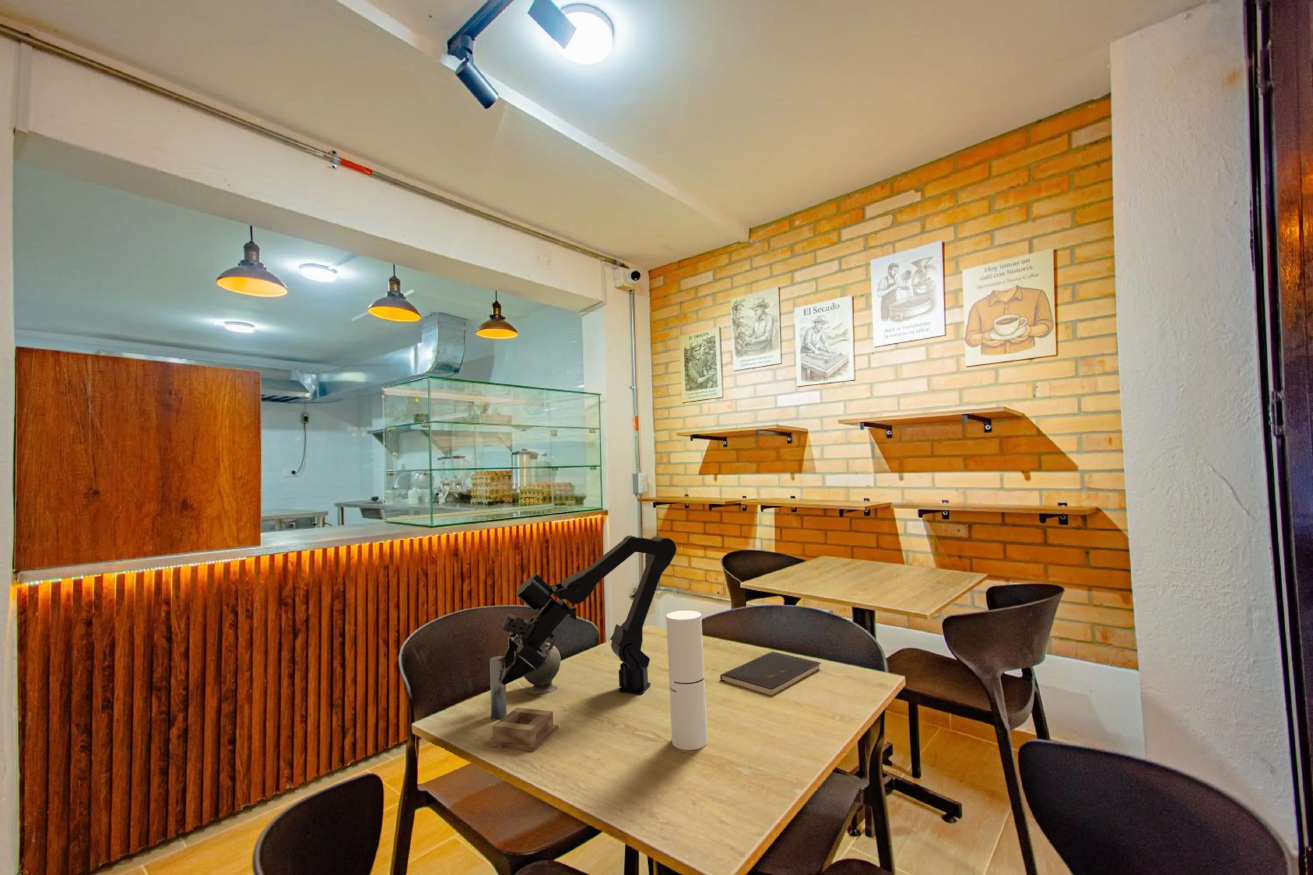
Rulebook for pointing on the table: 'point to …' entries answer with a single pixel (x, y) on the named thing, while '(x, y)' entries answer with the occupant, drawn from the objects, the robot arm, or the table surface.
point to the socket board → (523, 729)
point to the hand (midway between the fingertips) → (500, 676)
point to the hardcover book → (771, 672)
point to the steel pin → (497, 687)
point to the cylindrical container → (686, 680)
